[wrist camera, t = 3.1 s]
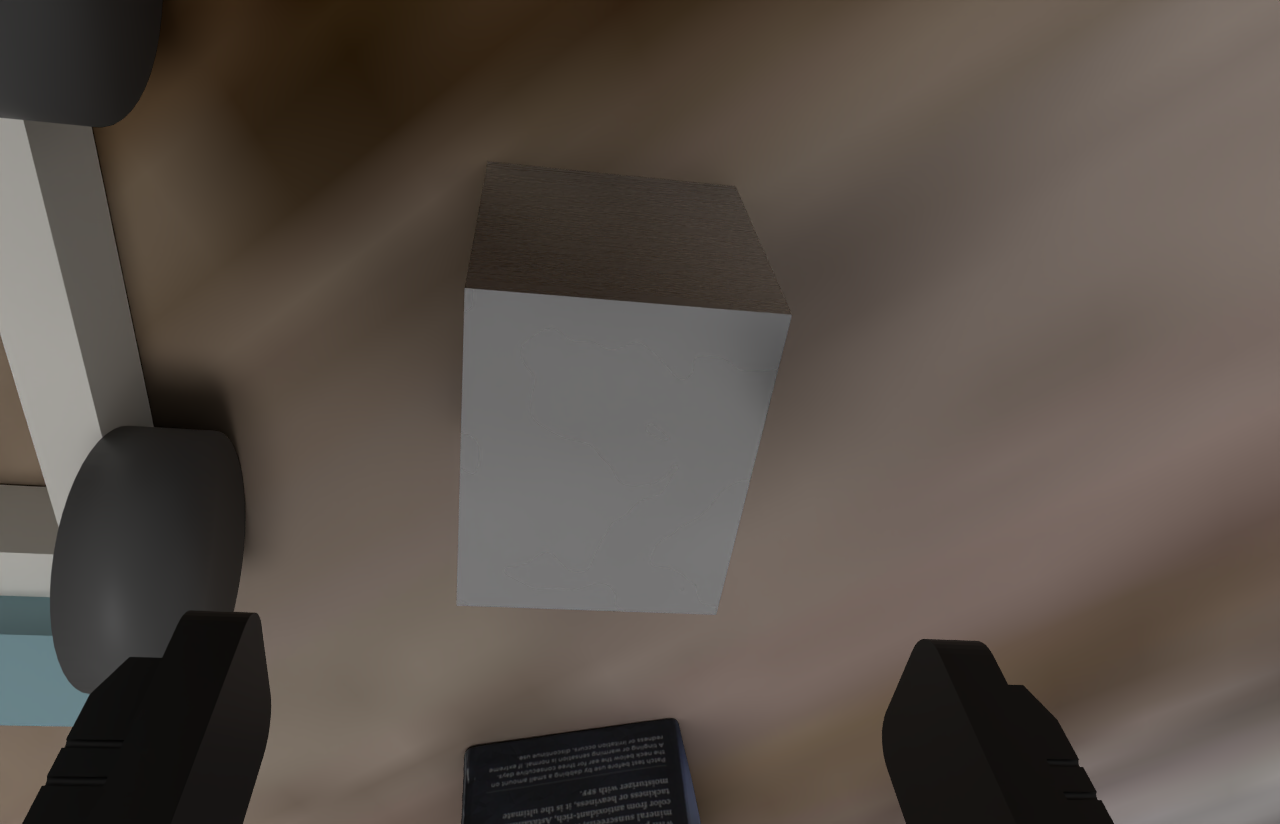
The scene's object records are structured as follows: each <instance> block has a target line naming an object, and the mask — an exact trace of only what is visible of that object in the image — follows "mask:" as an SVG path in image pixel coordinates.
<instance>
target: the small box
mask: <svg viewBox="0 0 1280 824" xmlns="http://www.w3.org/2000/svg"><path fill="white" fill-rule="evenodd" d="M461 824H701V823H700V818H699V812H698V807H697V802H696V798H695V793H694V788H693V784H692V779H691V774H690V770H689V766H688V762H687V758H686V754H685V749H684V745H683V741H682V737H681V732H680V728H679V724H678V722H677V720H675V719H667V720H657V721H651V722H643V723H635V724H628V725H622V726H616V727H607V728H601V729H594V730H587V731H579V732H572V733H565V734H558V735H552V736H546V737H539V738H532V739H524V740H519V741H511V742H504V743H497V744H490V745H483V746H477V747H472V748H470V749H468V750H467V751H466V753H465V756H464V779H463V795H462V820H461Z"/></svg>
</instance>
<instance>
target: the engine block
mask: <svg viewBox="0 0 1280 824" xmlns="http://www.w3.org/2000/svg"><path fill="white" fill-rule="evenodd" d="M791 317H792V314H791V312H790V309H789V307H788V305H787V303H786V300H785V298H784V296H783V293H782V291H781V289H780V287H779V284H778V282H777V280H776V278H775V275H774V273H773V271H772V268H771V266H770V264H769V262H768V259H767V257H766V255H765V253H764V250H763V248H762V246H761V244H760V241H759V239H758V237H757V234H756V232H755V230H754V228H753V225H752V223H751V221H750V219H749V216H748V214H747V212H746V209H745V207H744V205H743V203H742V200H741V198H740V196H739V194H738V191H737V189H736V187H735V186H725V185H715V184H705V183H695V182H685V181H676V180H666V179H656V178H646V177H636V176H626V175H616V174H607V173H597V172H587V171H577V170H567V169H557V168H547V167H538V166H528V165H518V164H508V163H498V162H488V163H487V168H486V174H485V179H484V185H483V190H482V196H481V201H480V207H479V212H478V218H477V223H476V229H475V234H474V240H473V245H472V251H471V256H470V262H469V267H468V273H467V278H466V284H465V296H464V336H463V375H462V414H461V453H460V492H459V531H458V570H457V605H458V606H486V607H514V608H542V609H570V610H598V611H626V612H654V613H682V614H710V615H716V613H717V609H718V605H719V601H720V598H721V594H722V590H723V586H724V582H725V578H726V574H727V570H728V566H729V562H730V558H731V554H732V550H733V546H734V542H735V538H736V534H737V530H738V526H739V522H740V518H741V514H742V510H743V507H744V503H745V499H746V495H747V491H748V487H749V483H750V479H751V475H752V471H753V467H754V463H755V459H756V455H757V451H758V447H759V443H760V439H761V435H762V431H763V427H764V423H765V419H766V416H767V412H768V408H769V404H770V400H771V396H772V392H773V388H774V384H775V380H776V376H777V372H778V368H779V364H780V360H781V356H782V352H783V348H784V344H785V340H786V336H787V332H788V328H789V325H790V321H791Z"/></svg>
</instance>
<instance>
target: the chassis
mask: <svg viewBox="0 0 1280 824" xmlns="http://www.w3.org/2000/svg"><path fill="white" fill-rule="evenodd" d="M162 3H163V0H0V335H1V338H2V341H3V345H4V348H5V351H6V354H7V358H8V361H9V364H10V368H11V371H12V374H13V378H14V381H15V384H16V388H17V391H18V394H19V398H20V401H21V404H22V407H23V411H24V414H25V417H26V421H27V424H28V427H29V431H30V434H31V437H32V441H33V444H34V447H35V451H36V454H37V457H38V460H39V464H40V467H41V470H42V474H43V477H44V480H45V484H46V487H36V486H16V485H0V725H17V726H73V725H74V723H75V721H76V720H77V718H78V716H79V714H80V712H81V710H82V708H83V706H84V704H85V702H86V700H87V698H88V697H89V695H90V694H91V693H92V692H93V691H94V690H95V689H96V688H97V687H98V686H99V685H100V684H101V683H102V682H103V681H104V680H105V679H107V678H108V677H109V676H110V675H111V674H112V673H113V672H114V671H115V670H116V669H117V668H118V667H119V666H120V665H121V664H122V663H124V662H125V661H126V660H127V659H128V658H129V657H153V658H162V657H163V655H164V653H165V650H166V648H167V646H168V644H169V642H170V640H171V637H172V635H173V633H174V631H175V629H176V627H177V624H178V622H179V621H180V619H181V617H182V616H183V615H184V614H185V613H186V612H187V611H190V610H193V611H221V612H233V611H234V607H235V603H236V598H237V593H238V588H239V582H240V576H241V568H242V561H243V551H244V536H245V500H244V487H243V479H242V473H241V468H240V464H239V460H238V457H237V454H236V451H235V448H234V447H233V445H232V443H231V441H230V440H229V438H228V437H227V436H226V435H225V434H223V433H222V432H219V431H212V430H194V429H177V428H160V427H154V425H153V420H152V415H151V411H150V406H149V401H148V396H147V391H146V387H145V382H144V377H143V372H142V367H141V362H140V358H139V353H138V348H137V343H136V338H135V334H134V329H133V324H132V319H131V314H130V310H129V305H128V300H127V295H126V290H125V285H124V281H123V276H122V271H121V266H120V261H119V257H118V252H117V247H116V242H115V237H114V233H113V228H112V223H111V218H110V213H109V208H108V204H107V199H106V194H105V189H104V184H103V180H102V175H101V170H100V165H99V160H98V156H97V151H96V146H95V141H94V136H93V131H92V127H106V126H110V125H114V124H115V123H117V122H119V121H120V120H122V119H123V118H124V117H126V116H127V115H128V114H129V113H130V112H131V111H132V109H133V108H134V106H135V105H136V104H137V102H138V101H139V99H140V97H141V95H142V93H143V91H144V89H145V87H146V85H147V82H148V79H149V76H150V74H151V71H152V67H153V63H154V59H155V56H156V51H157V46H158V40H159V34H160V26H161V17H162Z"/></svg>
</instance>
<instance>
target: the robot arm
mask: <svg viewBox="0 0 1280 824" xmlns="http://www.w3.org/2000/svg"><path fill="white" fill-rule="evenodd" d="M270 718H271V695H270V687H269V679H268V672H267V664H266V656H265V649H264V641H263V634H262V626H261V620H260V617H259V615H258V614H257V613H248V612H221V611H193V610H190V611H187V612H186V613H185V614H184V615H183V616H182V617H181V619H180V621H179V622H178V624H177V627H176V629H175V631H174V633H173V635H172V637H171V640H170V642H169V644H168V646H167V648H166V650H165V653H164V655H163V657H162V658H153V657H129V658H128V659H127V660H126V661H125V662H124V663H122V664H121V665H120V666H119V667H118V668H117V669H116V670H115V671H114V672H113V673H112V674H111V675H110V676H109V677H108V678H107V679H105V680H104V681H103V682H102V683H101V684H100V685H99V686H98V687H97V688H96V689H95V690H94V691H93V692H92V693H91V694H90V695H89V697H88V698H87V700H86V702H85V704H84V706H83V708H82V710H81V712H80V714H79V716H78V718H77V720H76V721H75V723H74V725H73V727H72V729H71V731H70V733H69V735H68V737H67V739H66V740H67V742H66V746H65V748H61V750H60V752H59V754H58V756H57V758H56V760H55V762H54V764H53V766H52V768H51V769H50V771H49V773H48V775H47V782H46V785H45V786H42V787H41V789H40V791H39V792H38V794H37V796H36V798H35V800H34V802H33V804H32V806H31V808H30V810H29V812H28V814H27V816H26V817H25V819H24V821H23V823H22V824H243V821H244V818H245V815H246V811H247V808H248V805H249V801H250V798H251V795H252V792H253V788H254V785H255V782H256V779H257V775H258V772H259V769H260V765H261V762H262V759H263V756H264V752H265V748H266V744H267V739H268V734H269V727H270ZM882 745H883V754H884V759H885V763H886V766H887V769H888V772H889V775H890V778H891V781H892V784H893V787H894V790H895V793H896V796H897V799H898V801H899V804H900V807H901V810H902V813H903V816H904V819H905V822H906V824H1114V823H1113V821H1112V819H1111V817H1110V815H1109V814H1108V812H1107V810H1106V808H1105V806H1104V804H1103V803H1102V801H1101V800H1097V797H1096V790H1095V788H1094V786H1093V784H1092V782H1091V781H1090V779H1089V777H1088V775H1087V773H1086V771H1085V770H1084V768H1083V767H1080V766H1079V764H1078V760H1079V759H1078V757H1077V755H1076V753H1075V751H1074V750H1073V748H1072V746H1071V744H1070V742H1069V740H1068V739H1067V737H1066V735H1065V733H1064V731H1063V729H1062V728H1061V726H1060V724H1059V722H1058V720H1057V719H1056V718H1055V717H1054V716H1053V715H1052V714H1051V713H1050V712H1049V711H1048V710H1047V709H1046V708H1045V707H1044V706H1043V705H1042V704H1041V703H1040V702H1039V701H1038V700H1037V699H1036V698H1035V697H1034V696H1033V695H1032V694H1031V693H1030V692H1029V691H1028V690H1027V689H1026V688H1025V686H1024V685H1008V684H1007V682H1006V680H1005V678H1004V676H1003V674H1002V672H1001V670H1000V668H999V666H998V664H997V662H996V660H995V658H994V656H993V654H992V653H991V651H990V650H989V648H988V647H987V646H986V645H985V644H984V643H982V642H980V641H964V640H936V639H922V640H920V641H919V642H917V644H916V645H915V647H914V649H913V651H912V653H911V655H910V658H909V660H908V662H907V665H906V667H905V669H904V672H903V674H902V676H901V679H900V681H899V683H898V685H897V688H896V690H895V692H894V695H893V697H892V699H891V702H890V704H889V706H888V709H887V711H886V714H885V717H884V721H883V728H882Z"/></svg>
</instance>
